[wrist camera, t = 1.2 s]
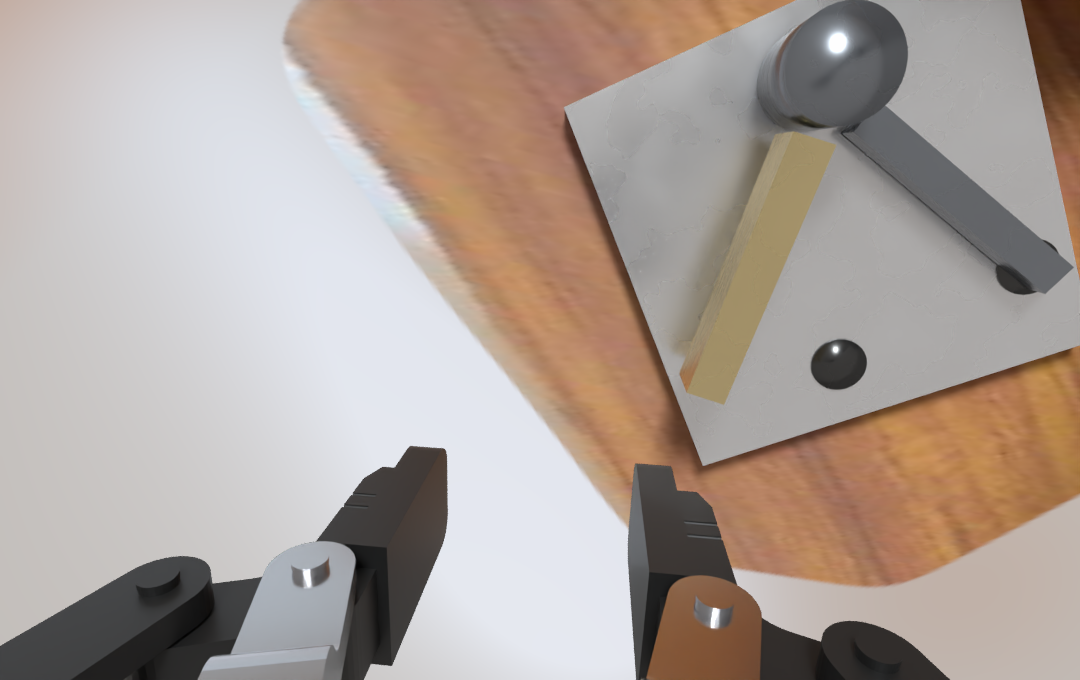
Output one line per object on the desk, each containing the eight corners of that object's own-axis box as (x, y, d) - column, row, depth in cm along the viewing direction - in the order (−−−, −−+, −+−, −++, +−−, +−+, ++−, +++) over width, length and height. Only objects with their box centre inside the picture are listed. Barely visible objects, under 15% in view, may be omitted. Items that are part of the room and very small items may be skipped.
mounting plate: (984, -84, 23) (1083, -148, 18) (1075, 335, 27) (1176, 371, 22) (565, 109, 27) (557, 97, 22) (699, 456, 31) (717, 510, 26)
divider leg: (766, 135, 25) (793, 131, 21) (803, 147, 25) (836, 144, 21) (676, 364, 28) (686, 392, 25) (708, 375, 28) (724, 404, 25)
